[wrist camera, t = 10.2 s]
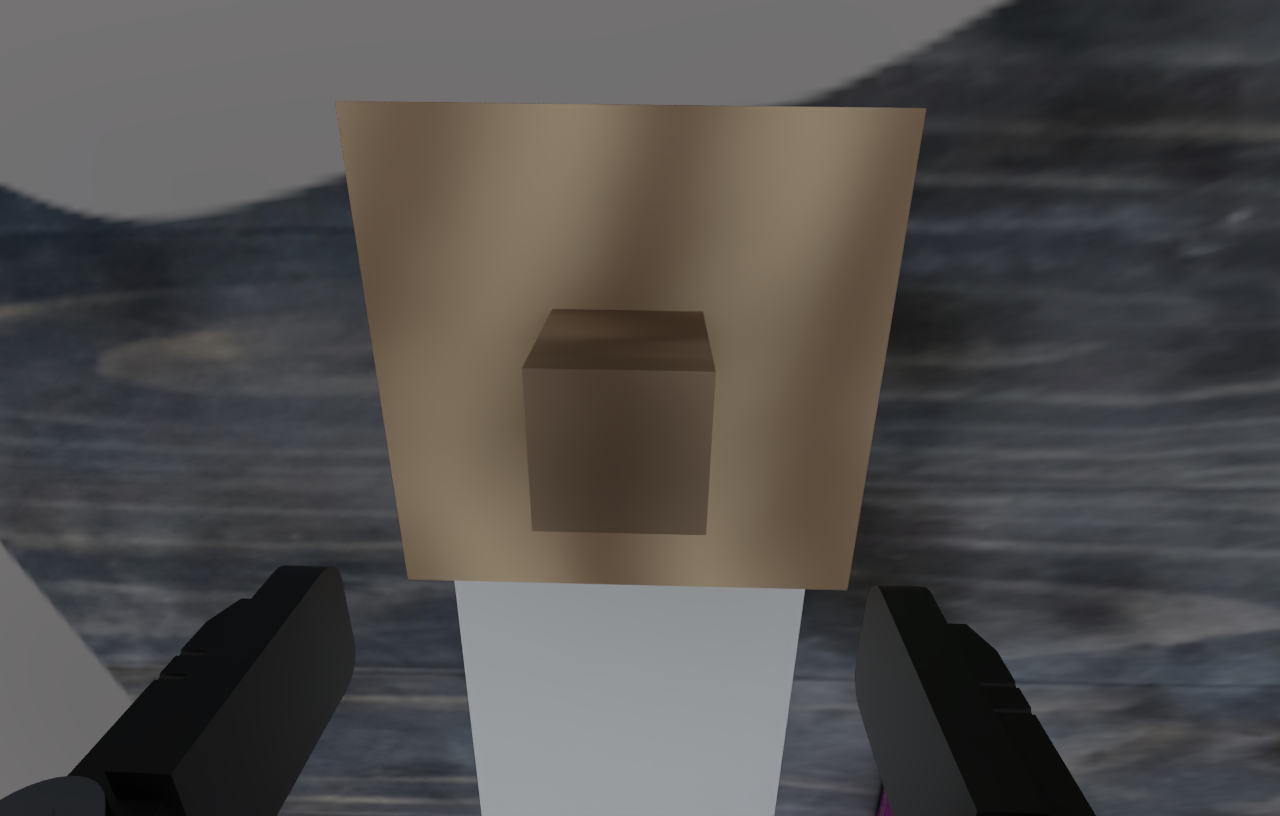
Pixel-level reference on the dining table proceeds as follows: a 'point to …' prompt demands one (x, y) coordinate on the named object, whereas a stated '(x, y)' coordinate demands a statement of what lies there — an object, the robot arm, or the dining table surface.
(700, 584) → the lid
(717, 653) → the mat
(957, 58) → the dining table surface
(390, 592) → the dining table surface
